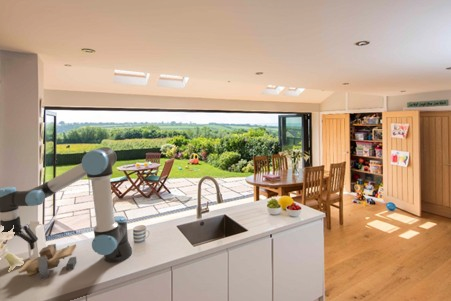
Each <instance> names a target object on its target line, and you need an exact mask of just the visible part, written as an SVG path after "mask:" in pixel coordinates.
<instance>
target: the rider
mask: <svg viewBox="0 0 451 301" xmlns="http://www.w3.org/2000/svg"><path fill="white" fill-rule="evenodd" d="M49 245H50V246H48V245H46V247H44V248H42V249H41V251H40V252H39V254H40V257H42V256H44V255H46V256H47V258H48V259H50V258H53V257H54V255H55V254H56V251H55V248H54V246H53V245H52V244H49Z"/></svg>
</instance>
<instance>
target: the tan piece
mask: <svg viewBox="0 0 451 301" xmlns="http://www.w3.org/2000/svg"><path fill="white" fill-rule="evenodd" d="M76 248H77V244H76V243H75V244H73V245H67V247H64V248H61V249H59V250H58V249H57V251H56V254H55V255H54V257H53V258H50V259H48V266H49V270H52V269H55V268H58V266H59V264H60V263H61V260H65V258H67V257H70V256H71V257H72V256H73V254H74V252H75V250H76ZM45 256H46V255H44V256H42V257H45ZM38 258H39V257H37V258H34V259H29V260H27V261H26V262H25V263H24V264H23V265H22V266H21V268H20V269H19V270H18V274H22V273H25V272H26V273H27V276H28V277H29V276H32V275H34V274H38V272H39V265H38Z"/></svg>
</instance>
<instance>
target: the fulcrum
mask: <svg viewBox="0 0 451 301" xmlns="http://www.w3.org/2000/svg"><path fill="white" fill-rule="evenodd" d="M50 245H53V246H54V248H55V251H58V249H57V244H56V243H51V244H48V245H47V246H50ZM38 265H39V271H38V272H39V279H40V280H47V279H49V278H50V269H49V266H48V258H47V256H45V257H39V258H38Z"/></svg>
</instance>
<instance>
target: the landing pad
mask: <svg viewBox="0 0 451 301" xmlns="http://www.w3.org/2000/svg"><path fill="white" fill-rule="evenodd" d="M76 264H77V256H71V257H69V258H68V260H67V263H66V271H72V270H74V269H75V266H76Z"/></svg>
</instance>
